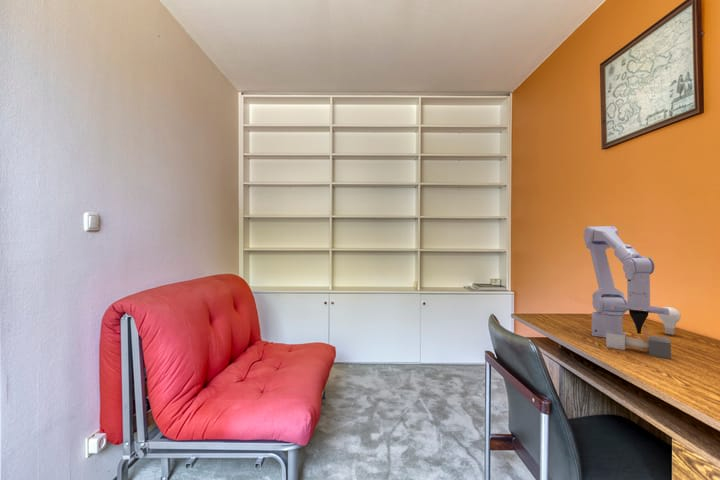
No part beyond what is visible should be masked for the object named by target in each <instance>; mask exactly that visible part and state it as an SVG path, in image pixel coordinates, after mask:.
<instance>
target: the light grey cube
mask: <svg viewBox="0 0 720 480" xmlns="http://www.w3.org/2000/svg"><path fill="white" fill-rule="evenodd" d="M626 334H627V333H626V331H625V332H624V331H622V332H619V331H612V330H607V332H606V338H605V339H606V340H605V346H606V348H609V349H610V348H611V349H614V350H615V349H616V350H622V351H626V347H627V346H625V337H627V335H626Z"/></svg>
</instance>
